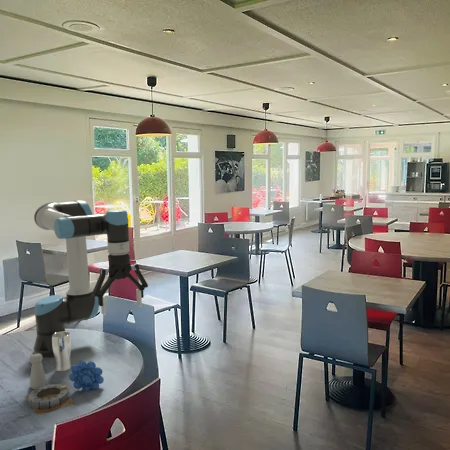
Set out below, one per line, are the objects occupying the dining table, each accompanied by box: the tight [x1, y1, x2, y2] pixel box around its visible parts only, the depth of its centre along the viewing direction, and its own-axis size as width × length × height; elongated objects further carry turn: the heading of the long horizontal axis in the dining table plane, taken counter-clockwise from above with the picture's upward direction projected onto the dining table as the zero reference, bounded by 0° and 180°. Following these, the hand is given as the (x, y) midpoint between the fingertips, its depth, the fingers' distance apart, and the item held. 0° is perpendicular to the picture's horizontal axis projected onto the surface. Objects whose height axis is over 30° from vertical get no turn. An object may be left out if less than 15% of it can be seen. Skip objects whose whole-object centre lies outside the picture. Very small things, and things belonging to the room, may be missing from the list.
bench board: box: [24, 394, 76, 417], centre depth 156 cm, size 16×12×1 cm
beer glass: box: [52, 330, 72, 372], centre depth 179 cm, size 7×7×15 cm
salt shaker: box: [29, 353, 48, 390], centre depth 165 cm, size 6×6×13 cm
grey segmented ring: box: [27, 383, 70, 410], centre depth 155 cm, size 12×12×3 cm
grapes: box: [68, 359, 105, 392], centre depth 161 cm, size 12×7×12 cm, turn 106°
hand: (122, 310), depth 167 cm, fingers open, 13 cm apart
